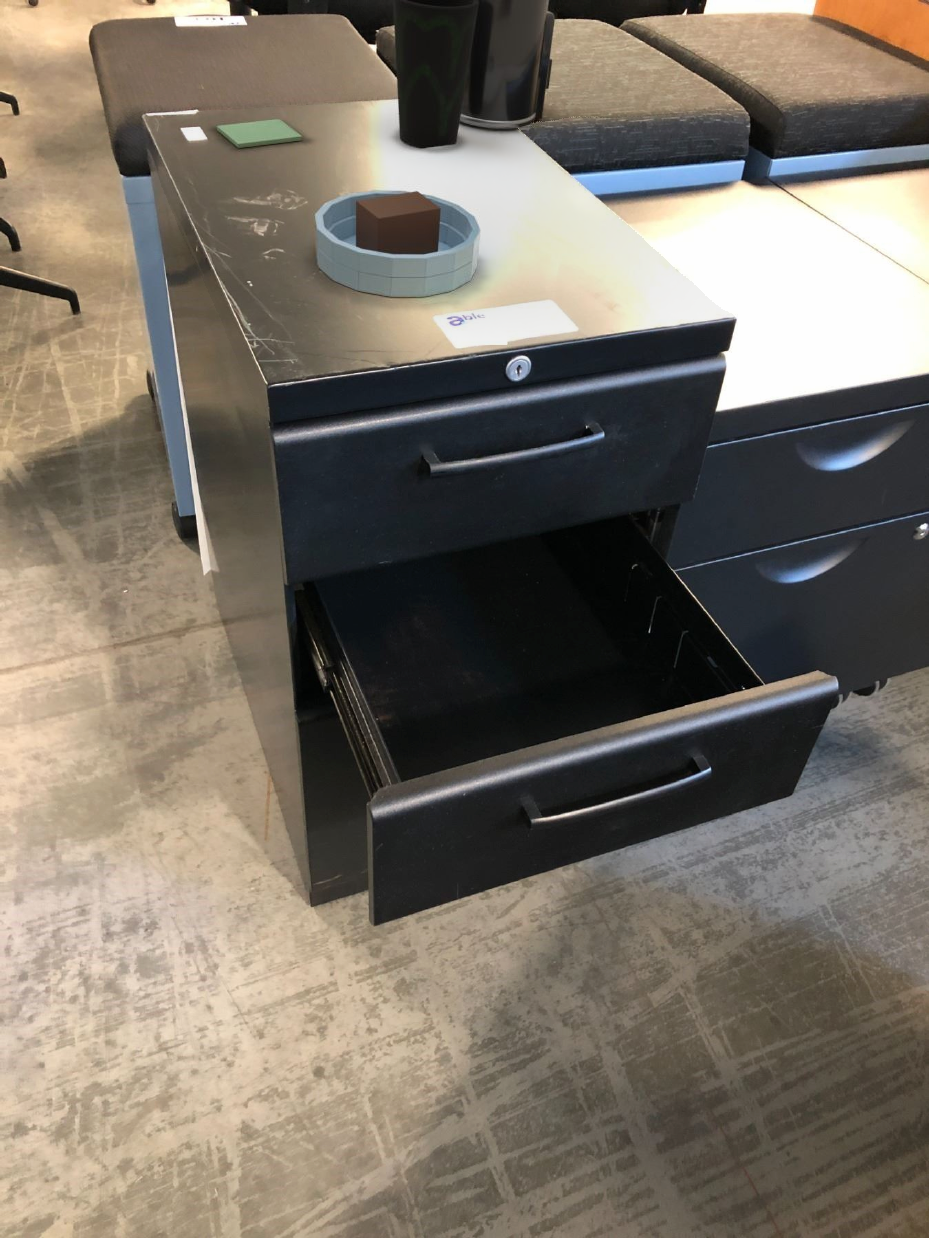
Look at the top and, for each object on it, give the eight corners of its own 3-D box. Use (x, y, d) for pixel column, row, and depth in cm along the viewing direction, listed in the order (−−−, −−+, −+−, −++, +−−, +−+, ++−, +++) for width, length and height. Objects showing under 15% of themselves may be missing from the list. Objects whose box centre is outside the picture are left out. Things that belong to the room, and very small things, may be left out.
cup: (458, 158, 91) (469, 12, 83) (380, 145, 92) (383, -1, 84) (473, 132, 97) (485, -7, 88) (399, 121, 97) (404, -19, 89)
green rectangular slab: (279, 123, 94) (279, 118, 94) (302, 140, 91) (301, 136, 91) (217, 130, 91) (216, 125, 91) (238, 148, 89) (238, 143, 88)
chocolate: (414, 245, 75) (417, 190, 72) (437, 263, 73) (441, 208, 70) (355, 256, 73) (355, 200, 70) (377, 275, 71) (378, 218, 68)
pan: (423, 225, 80) (425, 182, 77) (505, 287, 73) (510, 241, 70) (289, 249, 74) (287, 203, 72) (364, 318, 68) (364, 269, 65)
